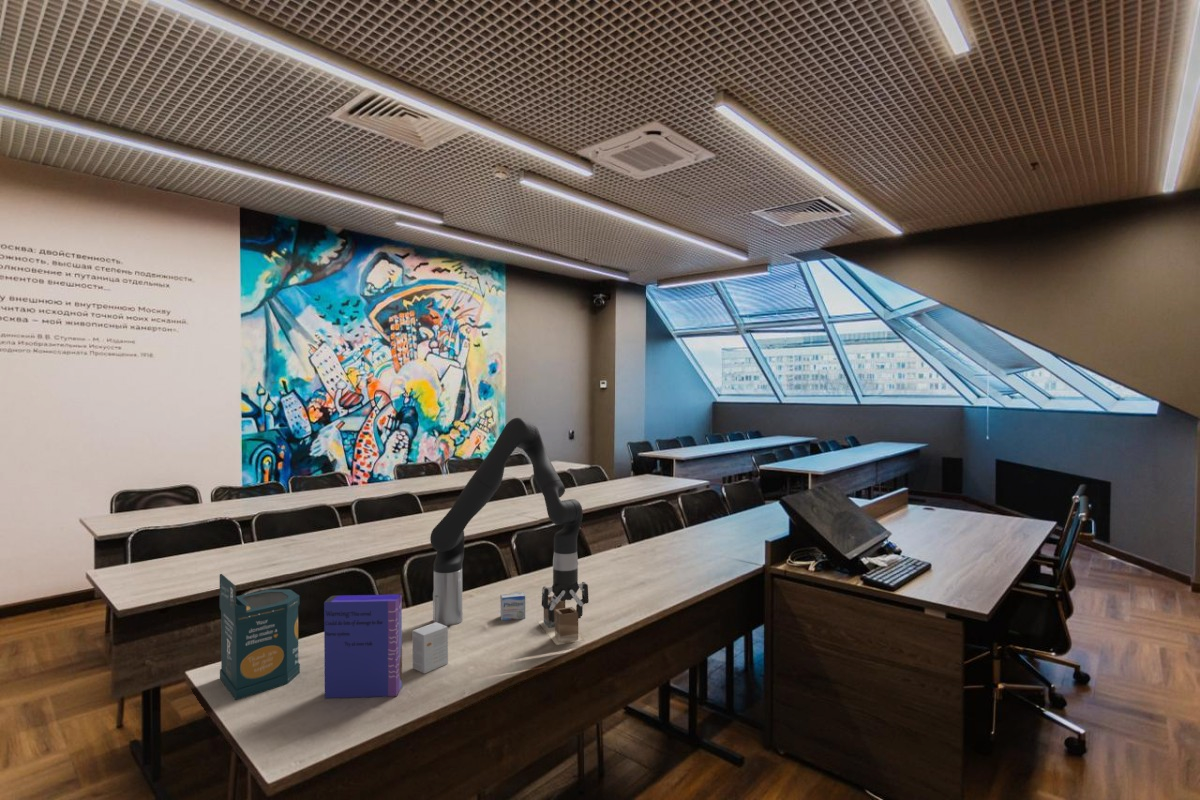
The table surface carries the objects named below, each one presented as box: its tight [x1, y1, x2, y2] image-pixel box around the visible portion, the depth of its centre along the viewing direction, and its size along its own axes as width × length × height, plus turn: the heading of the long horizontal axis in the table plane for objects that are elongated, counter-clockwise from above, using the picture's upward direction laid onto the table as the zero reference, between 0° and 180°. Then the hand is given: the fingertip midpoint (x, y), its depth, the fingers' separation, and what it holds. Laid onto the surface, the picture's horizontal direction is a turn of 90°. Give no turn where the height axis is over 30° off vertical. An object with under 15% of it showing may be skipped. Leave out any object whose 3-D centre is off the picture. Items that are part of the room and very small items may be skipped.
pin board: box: [537, 619, 585, 646], centre depth 183 cm, size 9×20×7 cm, turn 22°
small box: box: [411, 622, 449, 674], centre depth 161 cm, size 8×6×10 cm
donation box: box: [219, 573, 301, 701], centre depth 155 cm, size 16×16×28 cm
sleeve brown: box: [555, 606, 579, 642], centre depth 177 cm, size 6×6×8 cm
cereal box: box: [323, 594, 403, 700], centre depth 147 cm, size 17×5×24 cm, turn 92°
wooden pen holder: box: [543, 595, 566, 628], centre depth 188 cm, size 6×6×8 cm
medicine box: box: [500, 591, 526, 621], centre depth 194 cm, size 8×4×9 cm, turn 105°
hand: (565, 619), depth 177 cm, fingers open, 8 cm apart
